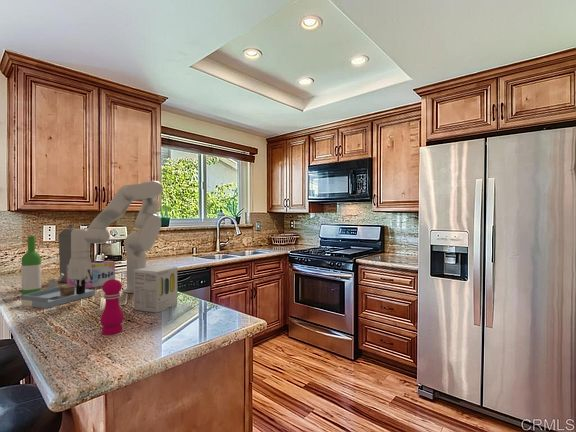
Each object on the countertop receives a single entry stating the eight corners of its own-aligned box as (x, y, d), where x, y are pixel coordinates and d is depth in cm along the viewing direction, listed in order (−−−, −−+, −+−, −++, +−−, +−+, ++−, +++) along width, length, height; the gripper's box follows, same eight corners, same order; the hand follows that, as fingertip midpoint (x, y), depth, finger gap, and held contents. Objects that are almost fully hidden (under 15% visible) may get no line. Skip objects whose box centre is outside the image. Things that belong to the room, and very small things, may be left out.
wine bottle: (36, 292, 166) (36, 235, 166) (44, 293, 163) (44, 236, 163) (18, 295, 159) (18, 236, 159) (26, 297, 156) (26, 237, 156)
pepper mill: (106, 328, 115) (106, 273, 114) (127, 327, 115) (127, 273, 115) (96, 336, 107) (96, 277, 107) (118, 335, 108) (118, 277, 108)
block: (74, 294, 152) (74, 286, 152) (66, 296, 149) (66, 287, 149) (68, 293, 154) (68, 285, 154) (60, 295, 150) (60, 287, 150)
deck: (95, 294, 161) (95, 286, 161) (46, 308, 138) (46, 298, 138) (72, 292, 166) (71, 283, 166) (21, 305, 143) (21, 295, 143)
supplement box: (156, 313, 132) (156, 271, 132) (132, 309, 137) (132, 269, 137) (178, 304, 145) (178, 266, 145) (155, 301, 149) (155, 264, 149)
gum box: (112, 281, 192) (112, 259, 192) (117, 283, 187) (117, 260, 187) (66, 288, 174) (66, 264, 174) (70, 291, 169) (70, 265, 169)
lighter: (48, 289, 172) (48, 274, 172) (48, 288, 174) (48, 274, 174) (64, 287, 176) (64, 273, 176) (64, 287, 178) (64, 273, 178)
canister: (53, 281, 191) (53, 224, 191) (74, 277, 203) (74, 223, 202) (67, 283, 186) (67, 224, 186) (88, 279, 198) (88, 224, 198)
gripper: (61, 255, 148) (61, 294, 148) (85, 256, 143) (85, 297, 143) (76, 253, 155) (76, 290, 155) (99, 254, 150) (99, 293, 151)
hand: (80, 293), depth 149 cm, fingers closed
